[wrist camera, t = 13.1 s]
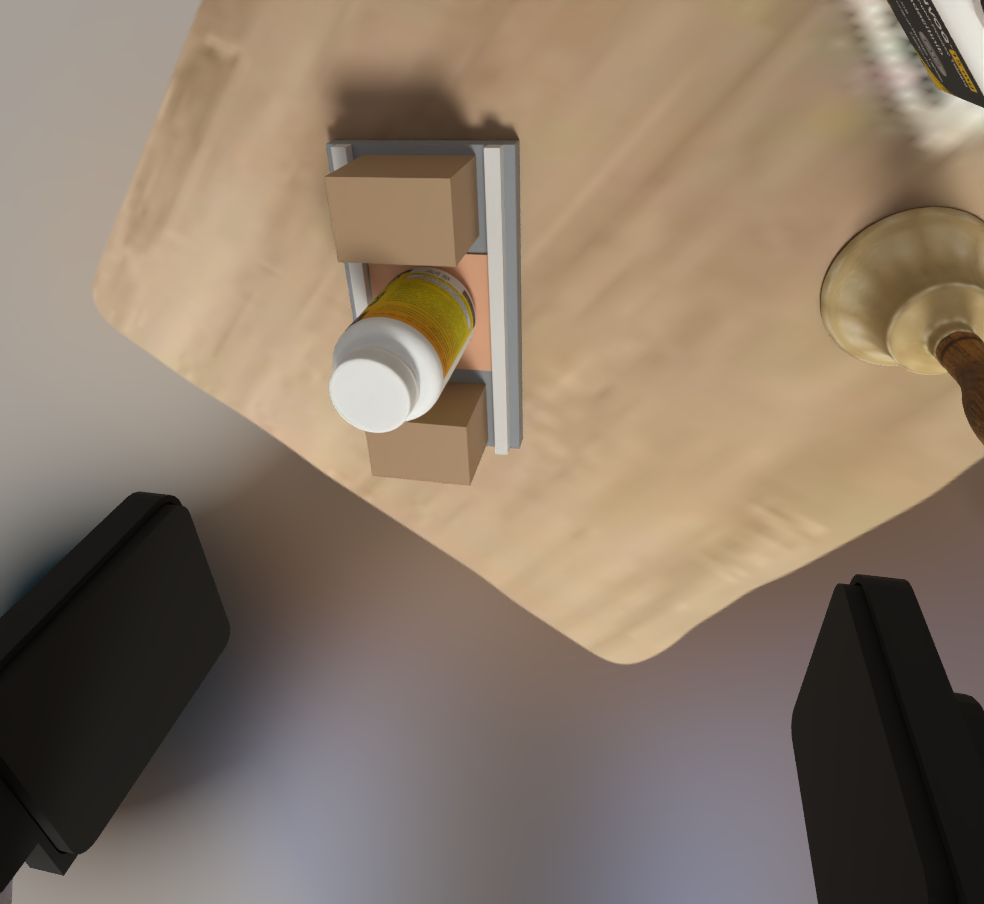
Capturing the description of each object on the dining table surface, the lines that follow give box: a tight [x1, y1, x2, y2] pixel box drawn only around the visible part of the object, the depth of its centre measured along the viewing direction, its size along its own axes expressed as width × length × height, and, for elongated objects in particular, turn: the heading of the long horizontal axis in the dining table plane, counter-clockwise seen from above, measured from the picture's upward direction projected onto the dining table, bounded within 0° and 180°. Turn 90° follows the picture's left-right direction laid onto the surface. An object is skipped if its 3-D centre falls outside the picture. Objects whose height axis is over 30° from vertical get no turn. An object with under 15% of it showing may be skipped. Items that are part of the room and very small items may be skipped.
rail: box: [324, 140, 523, 486], centre depth 38 cm, size 18×10×6 cm, turn 2°
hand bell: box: [821, 207, 984, 445], centre depth 29 cm, size 8×8×16 cm
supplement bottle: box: [329, 267, 476, 433], centre depth 36 cm, size 6×6×10 cm
